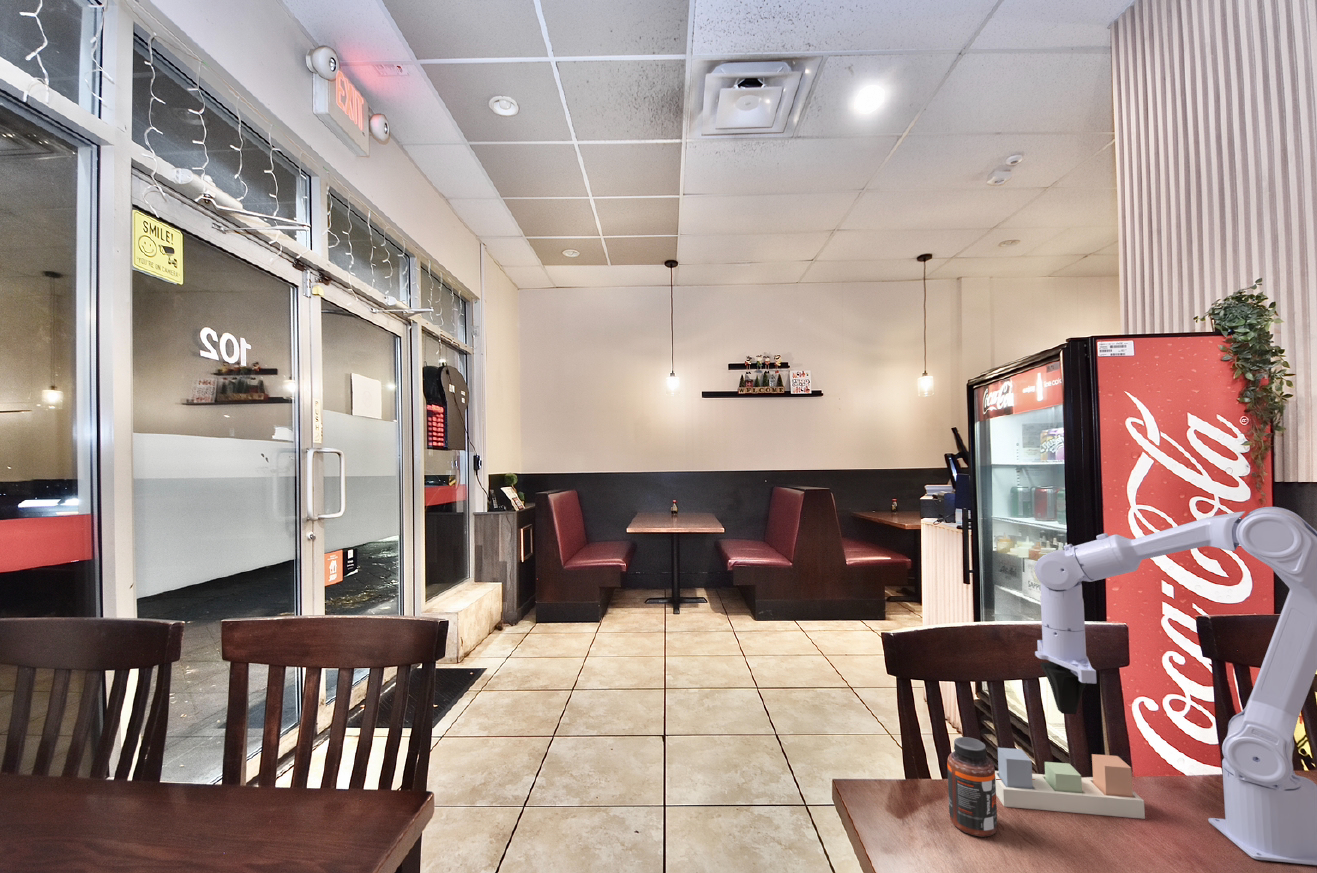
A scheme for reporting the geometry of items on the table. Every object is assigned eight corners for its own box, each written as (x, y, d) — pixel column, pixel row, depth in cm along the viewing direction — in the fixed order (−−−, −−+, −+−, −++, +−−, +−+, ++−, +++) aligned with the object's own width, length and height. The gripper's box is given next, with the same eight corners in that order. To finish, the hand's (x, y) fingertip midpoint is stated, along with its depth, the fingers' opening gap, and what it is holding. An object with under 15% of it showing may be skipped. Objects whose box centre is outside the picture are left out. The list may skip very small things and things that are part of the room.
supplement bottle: (1004, 841, 77) (1001, 755, 78) (956, 836, 79) (953, 751, 79) (988, 814, 83) (985, 734, 84) (944, 810, 84) (941, 731, 85)
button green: (1070, 794, 87) (1069, 763, 87) (1082, 807, 84) (1081, 775, 84) (1045, 791, 88) (1044, 761, 88) (1056, 805, 85) (1055, 773, 85)
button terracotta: (1119, 786, 86) (1117, 756, 86) (1133, 800, 83) (1131, 767, 83) (1093, 784, 87) (1091, 754, 87) (1106, 797, 83) (1104, 766, 84)
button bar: (1122, 797, 87) (1122, 780, 87) (1144, 818, 82) (1144, 800, 82) (990, 786, 90) (990, 770, 90) (1004, 806, 85) (1003, 789, 85)
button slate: (1023, 779, 89) (1021, 749, 89) (1032, 791, 85) (1031, 760, 85) (998, 777, 89) (997, 747, 89) (1007, 789, 86) (1006, 758, 86)
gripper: (1016, 613, 101) (1020, 692, 100) (1057, 639, 87) (1061, 731, 86) (1061, 615, 100) (1065, 695, 99) (1110, 641, 85) (1115, 734, 85)
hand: (1067, 712), depth 92 cm, fingers closed
